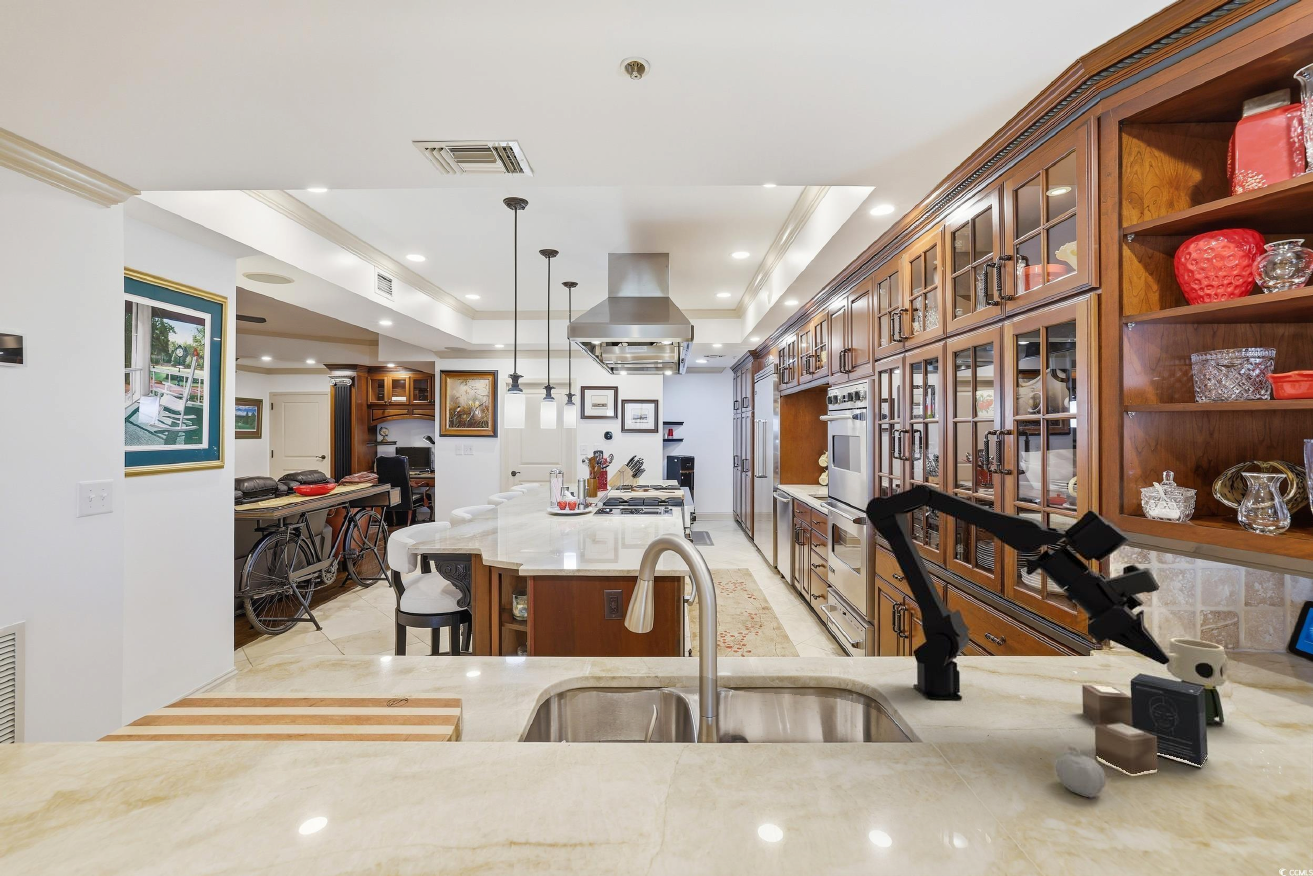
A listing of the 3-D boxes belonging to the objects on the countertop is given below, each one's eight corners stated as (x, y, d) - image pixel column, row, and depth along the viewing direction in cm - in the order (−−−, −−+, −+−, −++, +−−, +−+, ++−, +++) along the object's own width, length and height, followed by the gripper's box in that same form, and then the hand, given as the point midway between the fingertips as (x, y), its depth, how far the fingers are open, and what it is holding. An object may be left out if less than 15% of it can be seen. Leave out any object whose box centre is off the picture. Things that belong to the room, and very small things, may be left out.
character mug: (1190, 728, 97) (1187, 649, 98) (1151, 711, 104) (1148, 637, 105) (1250, 728, 98) (1247, 649, 99) (1207, 711, 105) (1204, 637, 106)
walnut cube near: (1131, 777, 80) (1130, 738, 81) (1095, 760, 85) (1094, 723, 86) (1157, 773, 82) (1156, 734, 82) (1121, 756, 87) (1120, 720, 87)
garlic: (1049, 776, 80) (1048, 737, 81) (1095, 784, 78) (1094, 744, 79) (1063, 798, 75) (1062, 757, 75) (1113, 807, 73) (1112, 765, 73)
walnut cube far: (1099, 725, 98) (1098, 693, 98) (1083, 713, 103) (1082, 683, 103) (1132, 728, 97) (1131, 695, 97) (1114, 716, 102) (1113, 685, 102)
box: (1208, 758, 86) (1205, 686, 87) (1201, 770, 83) (1198, 694, 84) (1141, 739, 93) (1138, 671, 93) (1132, 749, 89) (1129, 678, 90)
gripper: (1112, 553, 87) (1218, 644, 78) (1124, 544, 100) (1216, 621, 92) (1050, 598, 91) (1144, 689, 83) (1070, 584, 105) (1152, 660, 97)
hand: (1167, 662), depth 89 cm, fingers closed
